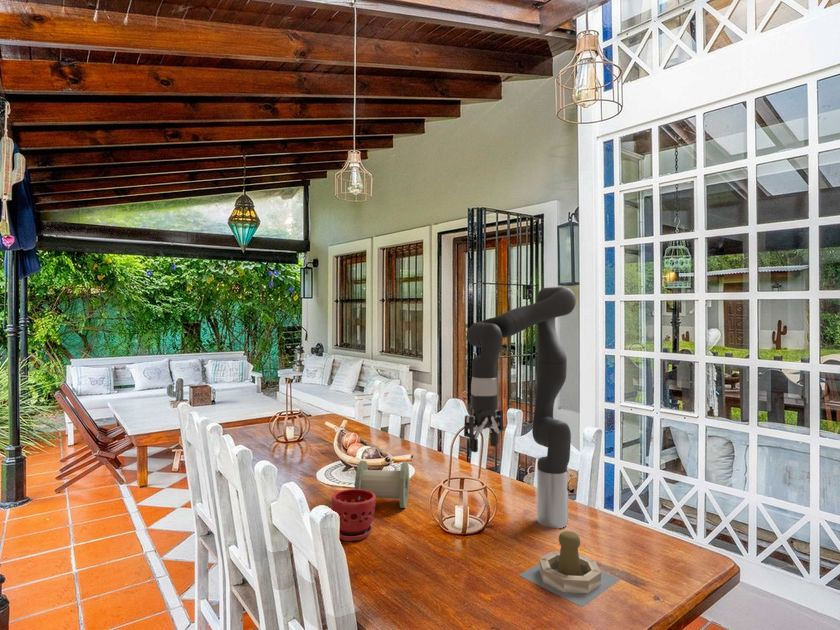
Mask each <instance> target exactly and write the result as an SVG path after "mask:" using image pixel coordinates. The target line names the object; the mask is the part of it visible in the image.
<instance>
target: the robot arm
mask: <svg viewBox="0 0 840 630" xmlns="http://www.w3.org/2000/svg"><path fill="white" fill-rule="evenodd" d="M576 300H577V299H576V295H575V293H574V292H573V290H571V289H570V288H568V287H564V286H556V287H555V286H553V287H550V286H549V287H544V288H541V289H540V290H538V293H537V295H536V300H535V301H536V302H535V303H531V304H527V305H523V306H520V307H516V308H513V309H511V310H508V311H506V312H504V313H501V314H500V315H497V316H495V317H491V318H486V319H483V320H480V321H477V322H474V323H473V324H472V325H471V326H470V327H469V328H468V329H467V332H466V339H467V341H468V343H469V344H470V345H472V346H473V347H475V348H481V350H480V354H479V355H477V356H474V358H473V359H472V362H471V363H472V365H471V382H470V383H471V384H470V386H471V387H470V393H471V394H470V407H471V409H472V412H473V414H472V415H464V426H463V428H464V429H463V436H464V437H465V438H468V439H469V449H470V450H469V451H470V452H472V453H477V452H478V451H479V439H478V438H479V436H480V433H482V432H483V430H485V429H487V428H488V430H489V432H490V436H489V438H490V440H489V445H490V446H491V447H493V448H496V447H498V446H499V445H498V444H499V434H500V432H501V431H503V430H504V413H503V412H504V411H503V410H501V409H498V395H499V394H498V393H499V392H498V388H499V387H498V379H497V375H498V374H497V372H498V371H497V368H498V367H497V366H498V365H497V363H498V360H499V357H500V352H501V348H502V344H503V338H504V339H506V338H509V337H512V336H515V335H516V334H518V333H520V332H522V331H524V330H526V329H528V328H531V327H533V326H536V325H537V327H536V328H537V356H536V357H537V358H536V390H535V391H536V392H535V405H534V413H533V420H532V431H531V432H532V438H533V440H534V441H535V442H536V444H538V445H540V446H543V447H545V448H547V455H546V456H543V457H542V456H541V457H539V458H538V459H537V462H536V463H537V464H536V465H537V466H536V467H537V468H536V472H537V473H536V475H537V476H536V478H537V479H536V480H537V481H536V483H537V484H536V486H537V490H536V496H537V497H536V498H537V499H536V504H537V505H536V511H537V512H536V523H537V524H539V525H541V526H543V527H547V528H553V529H555V528H556V529H558V528H561V529H564V528H566V527H567V526H566V525H568V523H569V493H568V465H569V462H570V460H571V459H570V458H571V446H572V445H571V442H572V439H571V438H572V433H571V428H570V427H569V424H568V423H567V422H565V421H564V420H563V421H562V420H559V419H557V418H556V419H555V418H554V406H555V401H556V398H557V397H558V395H559V393H560V392H561V389H562V388H563V386H564V385H565V383H566V379H567V371H568V370H567V361H568V359H567V355H566V352H565V350H564V346H563V345H562V343H561V340H560V339H559V336H558V333H557V330H556V329H557V328H556V318H559V317H564V316H567V315H569V314H571V313H572V312H573V311H574V309H575V307H576V303H577V301H576ZM565 526H566V527H565ZM563 527H564V528H563Z"/></svg>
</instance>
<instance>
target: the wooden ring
mask: <svg viewBox="0 0 840 630" xmlns="http://www.w3.org/2000/svg"><path fill="white" fill-rule="evenodd" d="M559 556H560V551H550V552H548V553H546V554H545V555H542V557H539V563H538V564H539V570H540V573H541V576H542V579H543V582H544V583H546V584H548V585H550V586H552V587H554V588H556V589H558V590H560V591H562V592H570V593H590V592H591V591H592V590H594V589H595V588H597V587H598V586H600V585H601V571H602V570H601V571H600V568H599V566H598V563H597V562H596V560H595V559H592V558H589V557H587V556H585V555H582V554H580V553H579V561H580V569H581V571H583V572H585V573H587V574H585V575H584V576H567V575H564V574H561V573H559V572H557V571H555V570H553V569H554V568H555V567H558V563H559Z"/></svg>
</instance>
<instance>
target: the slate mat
mask: <svg viewBox="0 0 840 630" xmlns="http://www.w3.org/2000/svg"><path fill="white" fill-rule="evenodd" d="M553 570H555V571H557V570H558V567H555V568H554V569H553ZM600 571H601V585H600V586H598V587H597V588H595V589H594V590H592V591H591V592H590V593H570V592H562V591H560V590H558V589H556V588H554V587H552V586H550V585H548V584H546V583H544V582H543V579H542V576H541V573H540V570H539V563H538V564H536V565H534V566H532V567H531V568H529V569H527V570H525V571H523V572H522V573H520V574H518V576H519V577H520V578H524V579H525V580H527V581H529V582H531V583H533V584H535V585H538V586H539V587H541V588H543V589H545V590H546V591H549V592H551V593H553V594H554V595H557V596H559V597H561V598H563V599H565V600H567V601H568V602H571V603H573V604H575V605H577V606H579V607H581V608H584V607H585V606H587V604H589V603H590V602H591V601H593V600H595V599H596V598H597V597H599V596H600V595H601V594H602V593H605V591H607V590H608V589H609V588H611V587H613V586H614V585H615V584H617V582H619V581H621V578H620V577H617V576H615V575H613V574H611V573H608V572H606V571H604V570H600ZM585 574H587V573H585V572H583V571H581V576H584V575H585Z"/></svg>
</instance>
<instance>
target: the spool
mask: <svg viewBox="0 0 840 630" xmlns="http://www.w3.org/2000/svg"><path fill="white" fill-rule="evenodd" d="M367 462H368V461H366V460H359V462H358V464H357V468H356V472H355V479H354V489H363V490H368V491H370V492H372V493H374V494H375V496H376V499H398V500H399V501H398V502H399V508H400V509H407V506H408V500H409V491H410V489H409V487H410V470H409V469H410V468H409V462H408V461H402V462H401V465H400V466H401V467H400V470H383V469H382V470H381V469H379V470H378V469H369V467H368V463H367ZM358 499H361V497H358ZM365 501H367V499H365Z"/></svg>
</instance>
